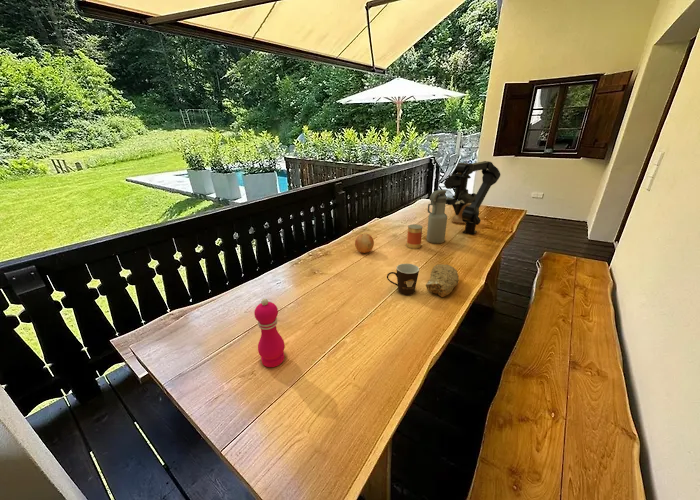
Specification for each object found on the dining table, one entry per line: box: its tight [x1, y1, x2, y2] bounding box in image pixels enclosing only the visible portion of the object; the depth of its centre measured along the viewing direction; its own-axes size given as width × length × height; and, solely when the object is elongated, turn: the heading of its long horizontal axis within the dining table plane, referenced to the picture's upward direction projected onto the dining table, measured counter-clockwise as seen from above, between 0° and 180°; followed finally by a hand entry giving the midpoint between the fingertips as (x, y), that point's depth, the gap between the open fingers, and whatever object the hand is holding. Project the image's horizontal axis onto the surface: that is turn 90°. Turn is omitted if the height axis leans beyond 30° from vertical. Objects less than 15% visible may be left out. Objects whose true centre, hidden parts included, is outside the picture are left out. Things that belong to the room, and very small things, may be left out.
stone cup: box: [450, 203, 471, 224], centre depth 196 cm, size 15×12×15 cm
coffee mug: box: [386, 263, 420, 296], centre depth 117 cm, size 12×9×10 cm
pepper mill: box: [253, 297, 286, 368], centre depth 81 cm, size 7×7×20 cm
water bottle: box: [426, 189, 448, 245], centre depth 162 cm, size 10×10×28 cm
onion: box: [354, 232, 375, 254], centre depth 152 cm, size 10×10×10 cm
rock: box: [425, 263, 460, 298], centre depth 121 cm, size 13×8×20 cm
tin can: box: [406, 223, 423, 250], centre depth 159 cm, size 7×7×11 cm
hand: (457, 215), depth 168 cm, fingers closed
